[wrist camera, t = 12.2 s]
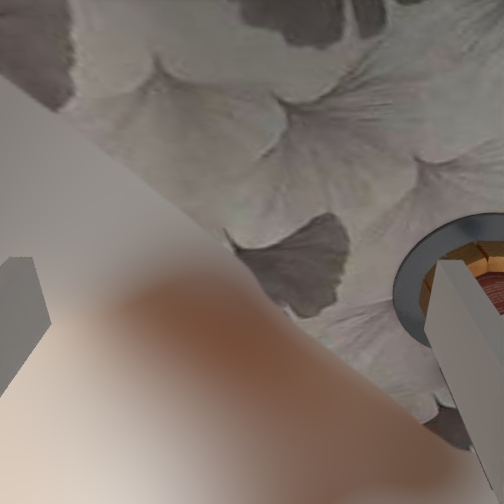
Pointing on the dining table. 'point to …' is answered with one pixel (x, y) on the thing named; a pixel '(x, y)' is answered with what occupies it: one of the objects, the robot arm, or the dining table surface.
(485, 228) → the round base with peg
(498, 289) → the pill bottle
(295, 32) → the dining table surface
